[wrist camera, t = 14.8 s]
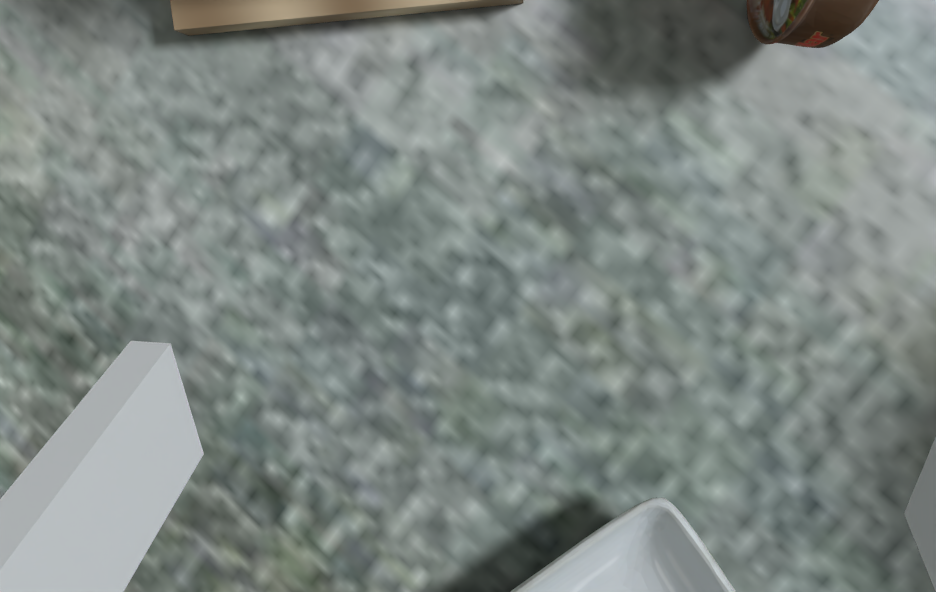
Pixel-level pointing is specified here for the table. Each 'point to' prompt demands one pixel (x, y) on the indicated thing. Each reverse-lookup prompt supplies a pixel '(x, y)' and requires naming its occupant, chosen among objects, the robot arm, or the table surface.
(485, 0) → the tan wooden flat tray
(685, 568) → the square plate
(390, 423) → the table surface
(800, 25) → the tin
